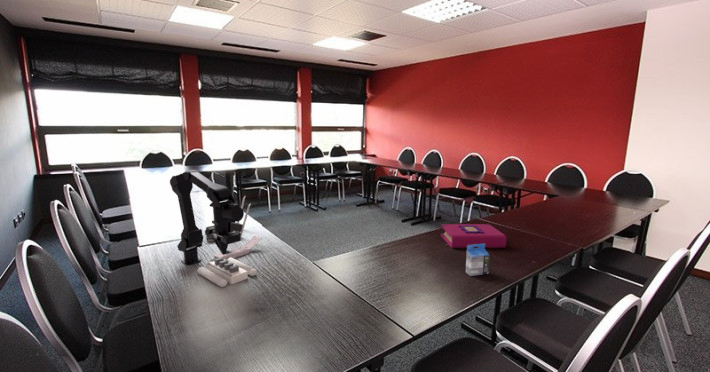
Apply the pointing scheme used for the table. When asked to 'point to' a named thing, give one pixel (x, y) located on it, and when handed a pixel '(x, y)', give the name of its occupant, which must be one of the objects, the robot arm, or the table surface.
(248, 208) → the wireless router
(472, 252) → the label tape box
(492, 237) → the book
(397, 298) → the table surface
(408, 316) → the table surface
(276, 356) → the table surface
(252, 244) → the mobile phone
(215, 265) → the breaker strip
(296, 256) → the table surface
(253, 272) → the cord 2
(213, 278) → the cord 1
